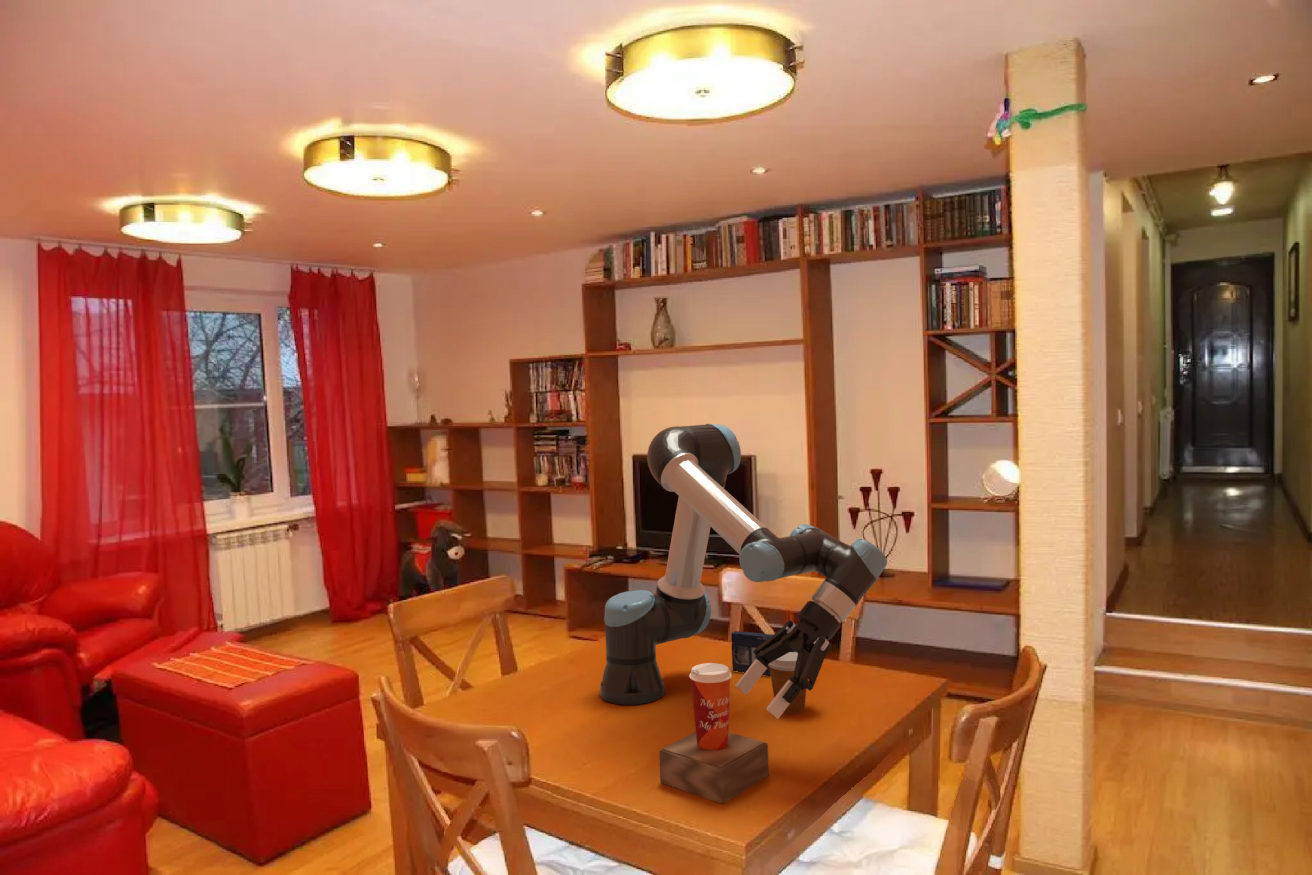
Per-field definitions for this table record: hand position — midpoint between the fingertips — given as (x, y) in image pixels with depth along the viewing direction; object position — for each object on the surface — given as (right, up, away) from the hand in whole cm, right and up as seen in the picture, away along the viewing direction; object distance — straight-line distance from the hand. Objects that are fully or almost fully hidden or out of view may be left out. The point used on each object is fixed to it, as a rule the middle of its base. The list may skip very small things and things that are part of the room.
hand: (755, 701), depth 163 cm
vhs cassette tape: (+10, -10, +56) cm, 58 cm away
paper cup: (-8, -7, -2) cm, 11 cm away
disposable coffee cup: (+11, -11, +32) cm, 36 cm away
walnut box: (-8, -13, -2) cm, 16 cm away
